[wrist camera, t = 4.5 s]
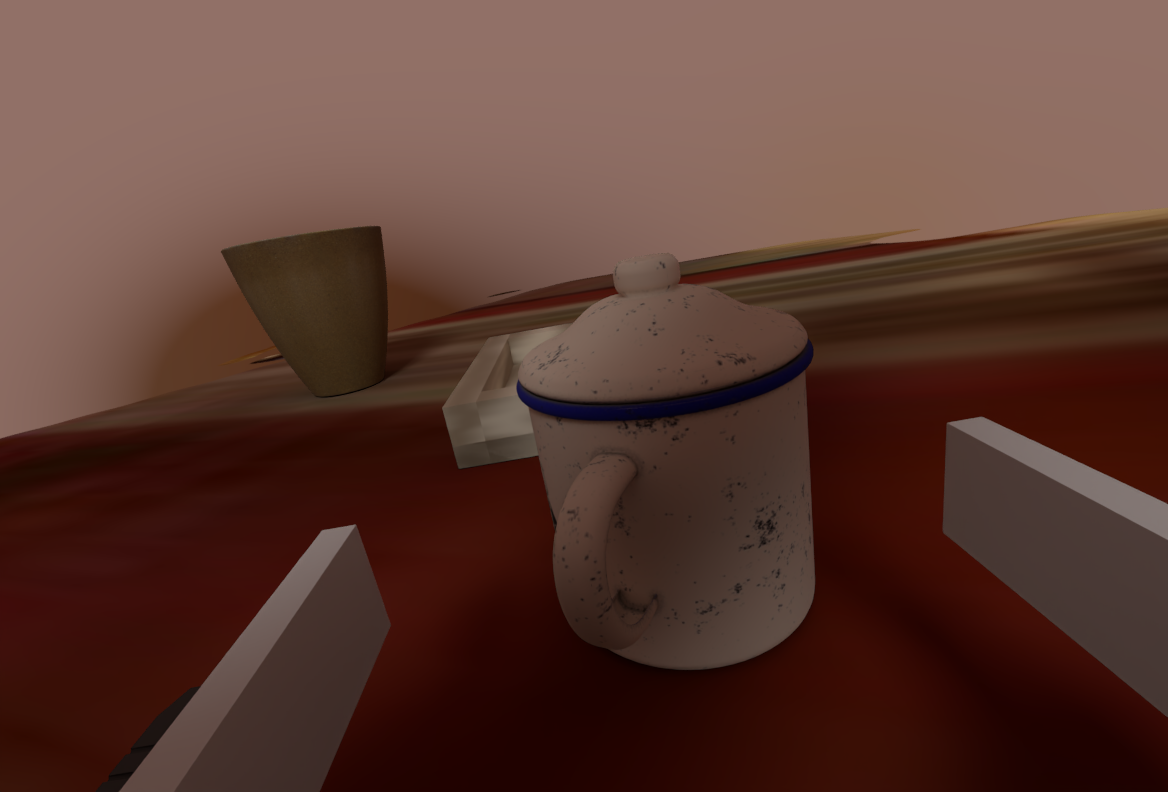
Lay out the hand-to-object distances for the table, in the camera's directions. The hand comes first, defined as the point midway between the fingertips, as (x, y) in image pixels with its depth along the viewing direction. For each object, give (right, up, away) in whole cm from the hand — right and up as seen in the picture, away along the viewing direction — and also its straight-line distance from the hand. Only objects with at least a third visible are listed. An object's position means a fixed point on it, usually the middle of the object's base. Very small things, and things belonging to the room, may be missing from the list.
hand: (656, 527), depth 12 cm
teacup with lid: (+2, -5, +7) cm, 8 cm away
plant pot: (-27, +4, +48) cm, 55 cm away
